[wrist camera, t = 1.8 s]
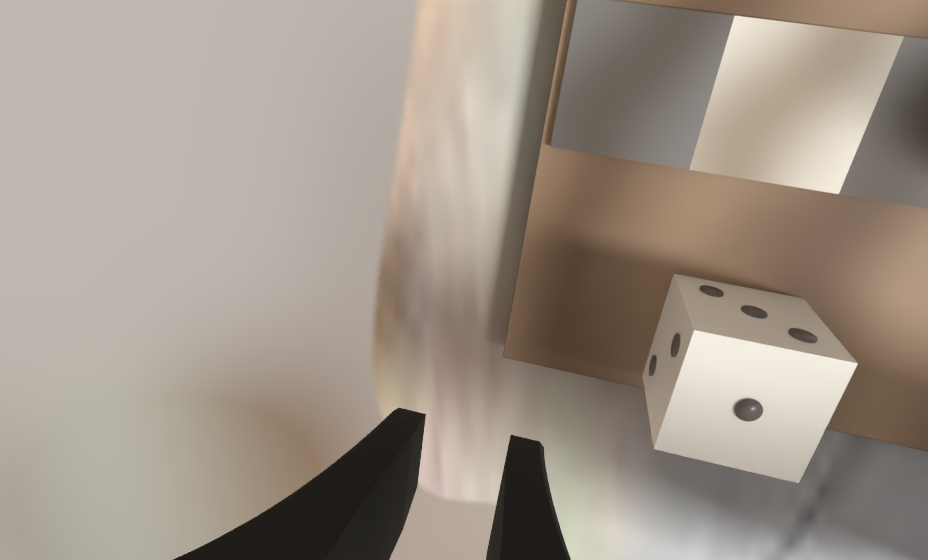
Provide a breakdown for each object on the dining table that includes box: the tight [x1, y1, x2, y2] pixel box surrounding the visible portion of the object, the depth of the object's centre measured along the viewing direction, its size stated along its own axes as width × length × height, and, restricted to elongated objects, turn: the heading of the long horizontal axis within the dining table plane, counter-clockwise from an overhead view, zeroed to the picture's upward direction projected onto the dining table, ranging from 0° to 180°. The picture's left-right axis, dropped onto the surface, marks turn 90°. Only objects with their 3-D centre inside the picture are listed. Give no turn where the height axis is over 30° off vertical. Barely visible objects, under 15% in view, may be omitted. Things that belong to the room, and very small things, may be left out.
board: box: [503, 0, 928, 451], centre depth 16 cm, size 20×16×1 cm
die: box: [642, 274, 858, 483], centre depth 17 cm, size 4×4×4 cm
